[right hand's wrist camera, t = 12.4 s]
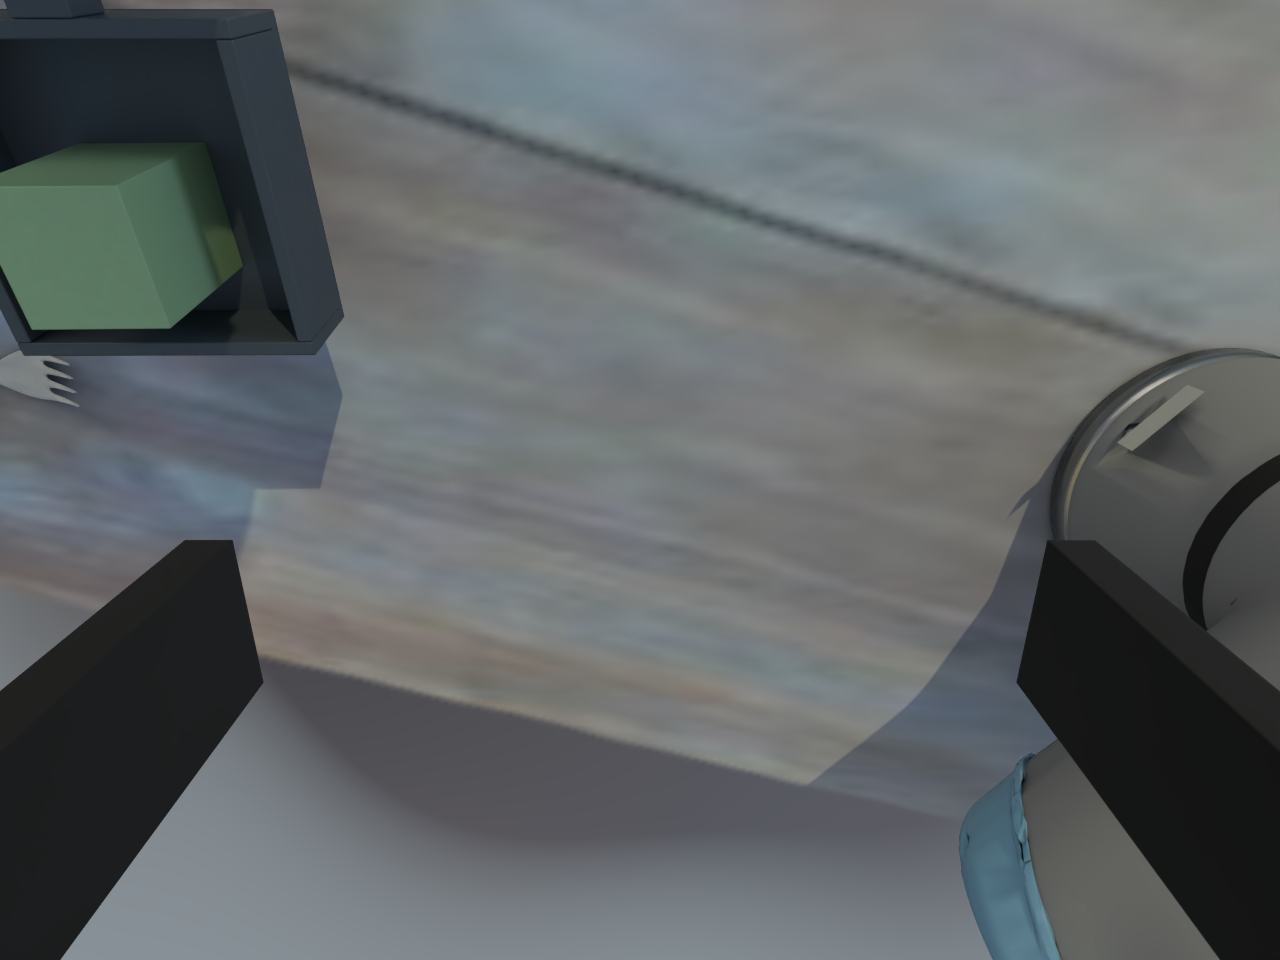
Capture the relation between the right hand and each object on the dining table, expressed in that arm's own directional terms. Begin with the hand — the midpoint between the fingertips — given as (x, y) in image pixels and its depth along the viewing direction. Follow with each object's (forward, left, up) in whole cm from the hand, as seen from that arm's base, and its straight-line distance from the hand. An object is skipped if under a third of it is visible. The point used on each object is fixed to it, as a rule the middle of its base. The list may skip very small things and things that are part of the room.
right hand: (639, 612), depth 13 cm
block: (+9, +18, -23) cm, 30 cm away
